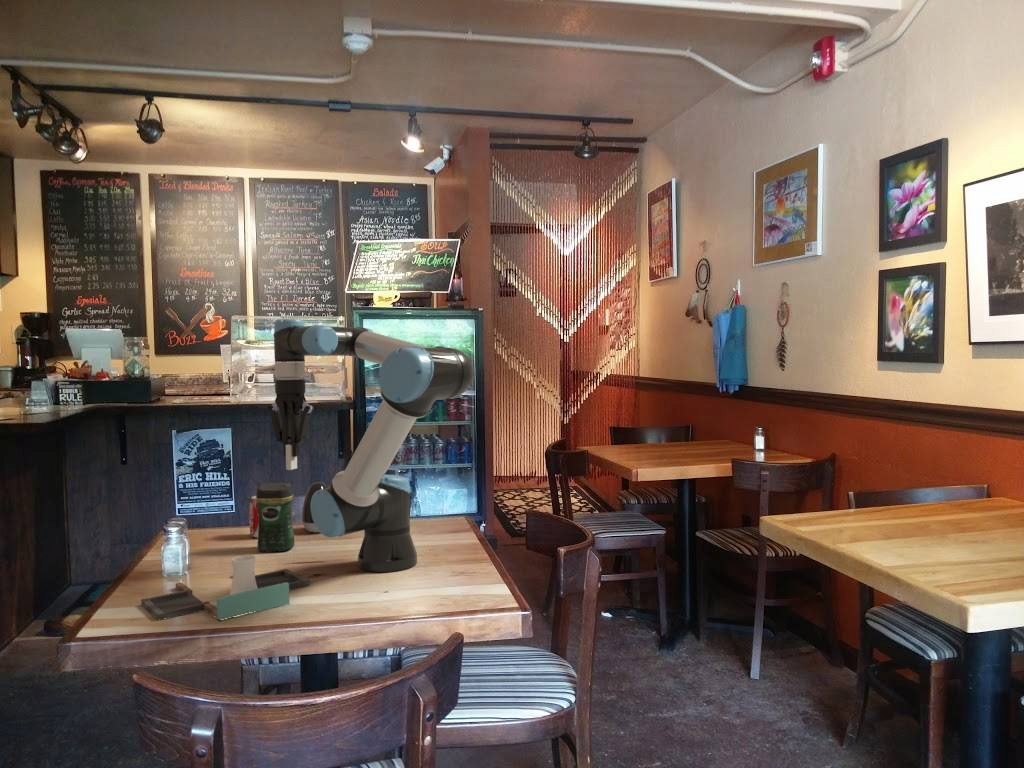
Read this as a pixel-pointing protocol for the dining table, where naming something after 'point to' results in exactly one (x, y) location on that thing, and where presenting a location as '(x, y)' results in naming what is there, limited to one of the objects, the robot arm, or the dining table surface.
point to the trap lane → (189, 603)
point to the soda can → (254, 517)
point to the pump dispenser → (306, 509)
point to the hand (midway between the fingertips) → (291, 468)
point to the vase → (243, 574)
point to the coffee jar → (275, 517)
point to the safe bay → (252, 600)
